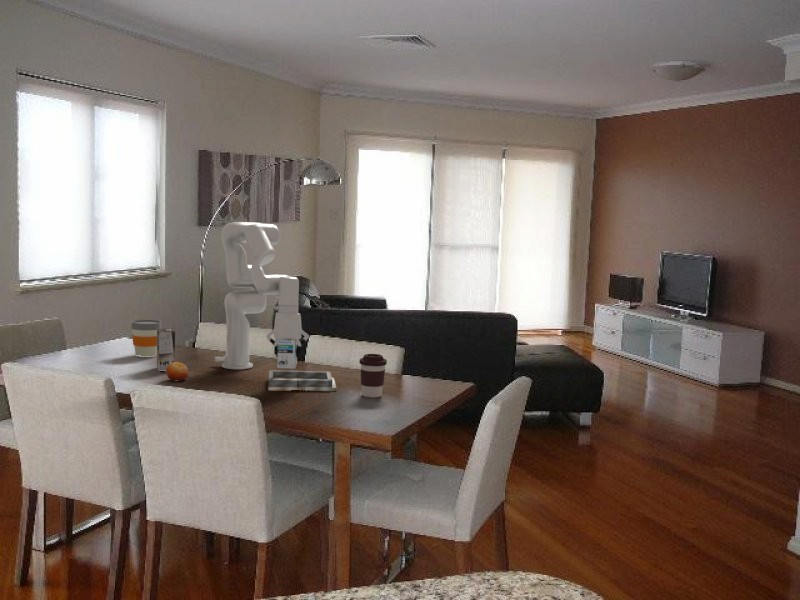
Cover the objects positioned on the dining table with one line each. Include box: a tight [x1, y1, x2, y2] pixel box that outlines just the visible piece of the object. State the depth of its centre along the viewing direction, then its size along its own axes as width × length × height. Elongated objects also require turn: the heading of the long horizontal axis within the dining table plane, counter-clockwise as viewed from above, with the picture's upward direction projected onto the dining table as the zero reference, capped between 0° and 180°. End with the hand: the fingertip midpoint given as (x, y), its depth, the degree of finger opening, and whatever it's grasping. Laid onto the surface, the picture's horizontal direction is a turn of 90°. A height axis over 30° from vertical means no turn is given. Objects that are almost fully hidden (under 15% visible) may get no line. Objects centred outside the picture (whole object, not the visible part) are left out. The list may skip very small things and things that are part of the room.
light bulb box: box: [276, 339, 298, 370], centre depth 305 cm, size 11×7×11 cm, turn 3°
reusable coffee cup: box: [131, 319, 163, 356], centre depth 350 cm, size 13×12×15 cm
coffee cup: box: [359, 353, 388, 399], centre depth 294 cm, size 10×10×15 cm
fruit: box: [165, 361, 189, 381], centre depth 306 cm, size 8×8×8 cm
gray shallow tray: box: [267, 369, 337, 392], centre depth 307 cm, size 25×18×4 cm
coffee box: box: [156, 327, 176, 371], centre depth 324 cm, size 9×6×16 cm
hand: (287, 356), depth 305 cm, fingers closed on light bulb box, 7 cm apart
